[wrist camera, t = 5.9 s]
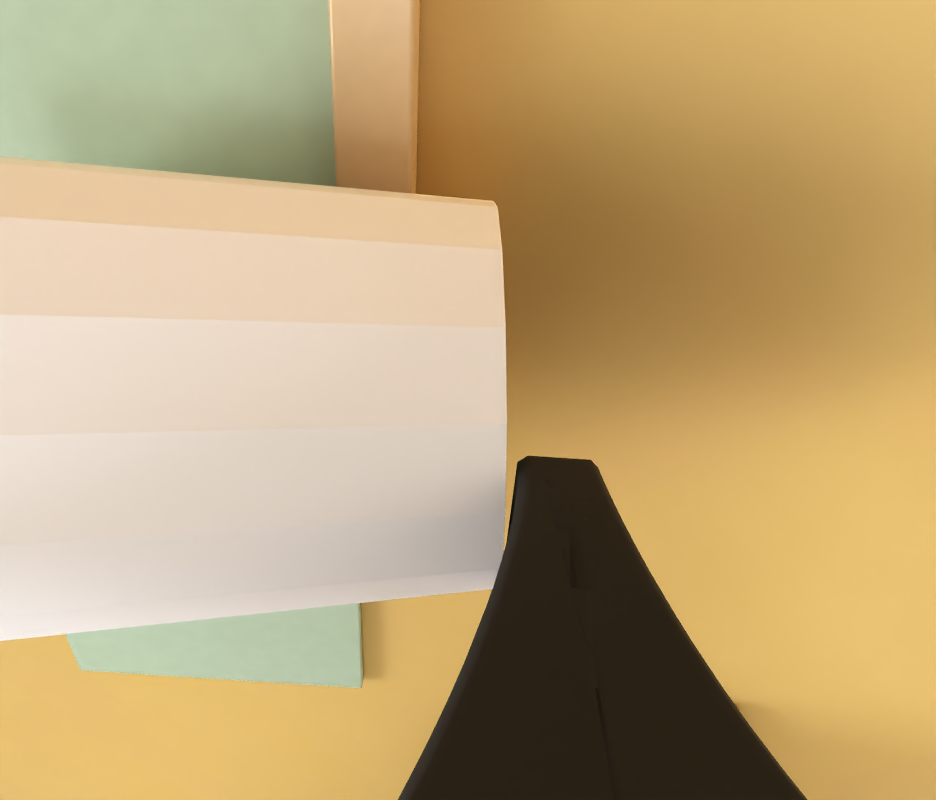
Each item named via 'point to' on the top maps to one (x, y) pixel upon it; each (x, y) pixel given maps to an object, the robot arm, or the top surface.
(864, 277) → the top surface
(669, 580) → the top surface
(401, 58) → the stop batten
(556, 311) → the top surface
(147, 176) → the beige short cylinder
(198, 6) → the mat
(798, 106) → the top surface
